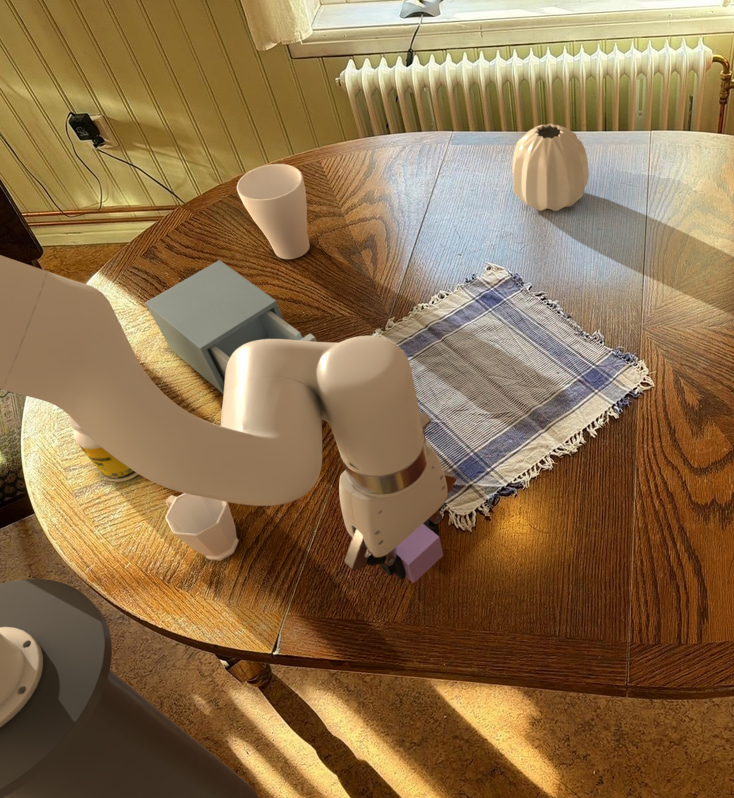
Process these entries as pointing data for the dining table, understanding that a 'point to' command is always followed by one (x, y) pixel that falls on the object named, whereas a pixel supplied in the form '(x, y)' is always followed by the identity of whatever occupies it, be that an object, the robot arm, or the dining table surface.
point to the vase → (549, 168)
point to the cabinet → (207, 314)
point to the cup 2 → (278, 207)
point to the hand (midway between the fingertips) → (412, 553)
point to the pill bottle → (101, 457)
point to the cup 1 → (203, 525)
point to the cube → (419, 552)
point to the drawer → (253, 338)
